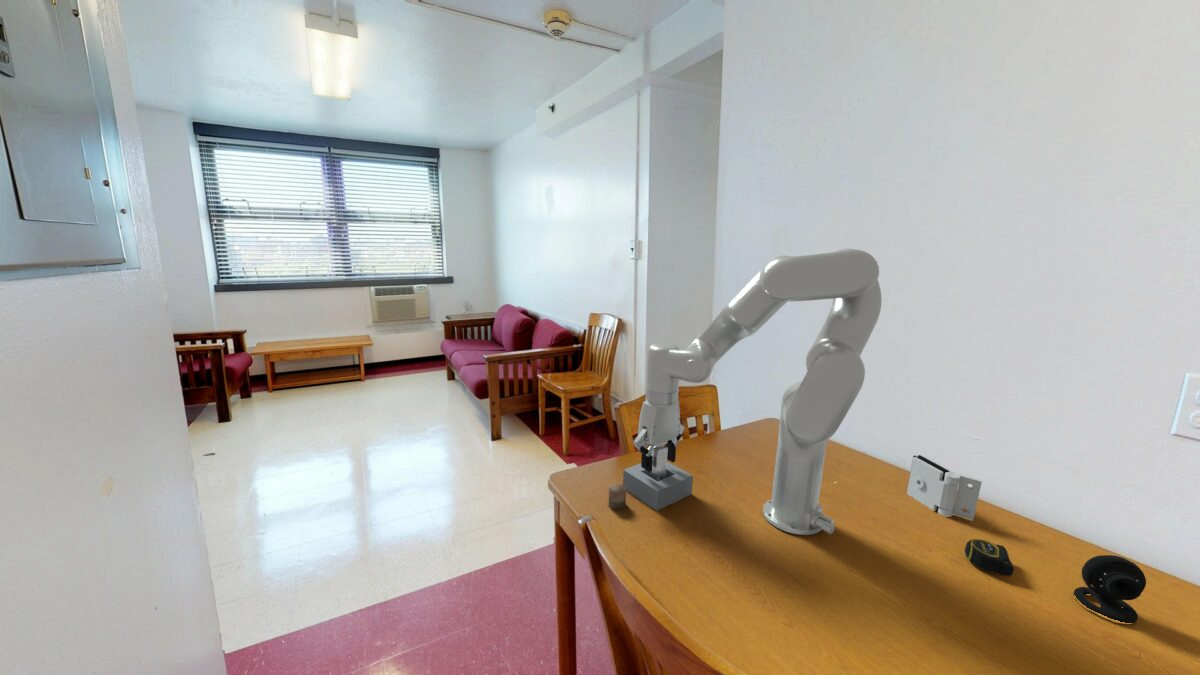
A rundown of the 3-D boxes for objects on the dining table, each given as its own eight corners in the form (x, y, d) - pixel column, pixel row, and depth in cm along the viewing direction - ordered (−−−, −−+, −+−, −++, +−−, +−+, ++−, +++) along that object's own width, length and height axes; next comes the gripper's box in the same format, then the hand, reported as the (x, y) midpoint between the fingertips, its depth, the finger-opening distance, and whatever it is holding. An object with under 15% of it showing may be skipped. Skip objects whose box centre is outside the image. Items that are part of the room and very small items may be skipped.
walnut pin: (629, 506, 105) (629, 489, 104) (615, 512, 103) (616, 494, 102) (618, 498, 108) (618, 481, 107) (605, 504, 106) (605, 487, 105)
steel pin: (668, 492, 111) (671, 447, 109) (657, 497, 109) (659, 451, 106) (657, 485, 114) (659, 441, 112) (645, 490, 112) (647, 445, 110)
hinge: (975, 521, 102) (983, 481, 100) (960, 526, 100) (969, 485, 98) (913, 490, 115) (919, 453, 112) (899, 494, 113) (905, 457, 110)
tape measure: (1012, 583, 84) (1016, 565, 83) (965, 568, 87) (969, 551, 86) (1005, 562, 89) (1009, 545, 88) (961, 548, 93) (964, 532, 92)
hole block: (691, 494, 111) (693, 475, 110) (656, 510, 104) (657, 491, 102) (657, 474, 120) (658, 456, 119) (622, 488, 113) (623, 469, 112)
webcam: (1088, 617, 76) (1103, 566, 74) (1062, 586, 83) (1075, 538, 81) (1150, 632, 73) (1168, 579, 71) (1118, 598, 80) (1133, 549, 78)
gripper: (675, 385, 115) (672, 449, 118) (623, 398, 104) (621, 468, 108) (698, 393, 109) (693, 460, 113) (645, 408, 98) (642, 482, 102)
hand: (658, 464), depth 110 cm, fingers open, 7 cm apart
